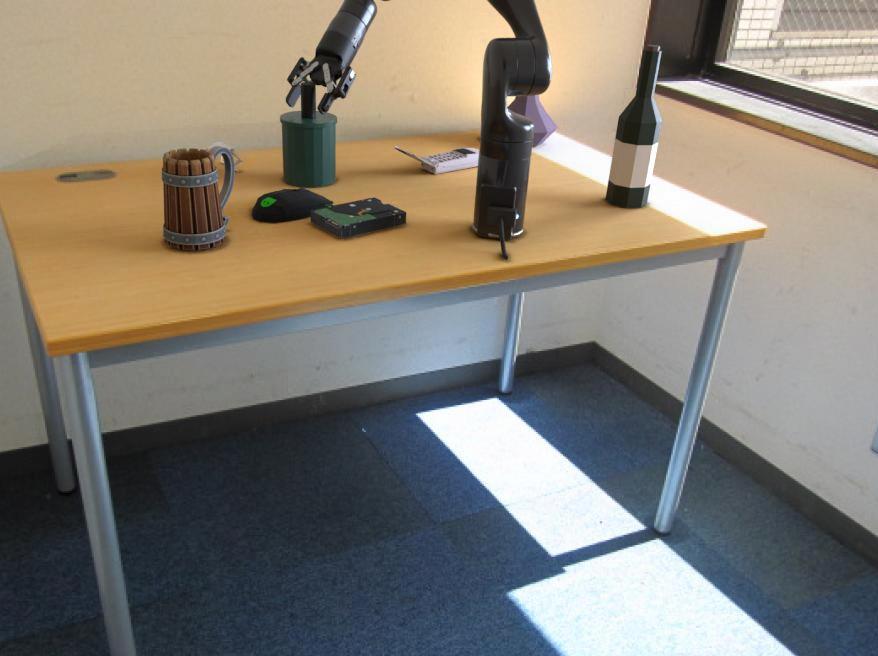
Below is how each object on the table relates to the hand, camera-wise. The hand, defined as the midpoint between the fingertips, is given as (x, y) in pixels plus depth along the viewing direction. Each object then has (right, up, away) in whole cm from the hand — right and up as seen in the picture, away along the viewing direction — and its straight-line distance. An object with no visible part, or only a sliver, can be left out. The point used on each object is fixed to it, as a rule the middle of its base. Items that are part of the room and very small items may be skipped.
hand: (304, 108), depth 178 cm
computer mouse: (-2, -23, -9) cm, 24 cm away
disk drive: (+11, -27, -14) cm, 32 cm away
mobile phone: (+29, -7, +19) cm, 36 cm away
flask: (+50, +5, +41) cm, 65 cm away
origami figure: (-19, -9, +13) cm, 25 cm away
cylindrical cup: (0, -12, +8) cm, 15 cm away
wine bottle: (+65, -18, +3) cm, 68 cm away
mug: (-15, -31, -23) cm, 41 cm away
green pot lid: (+1, -2, +2) cm, 3 cm away
